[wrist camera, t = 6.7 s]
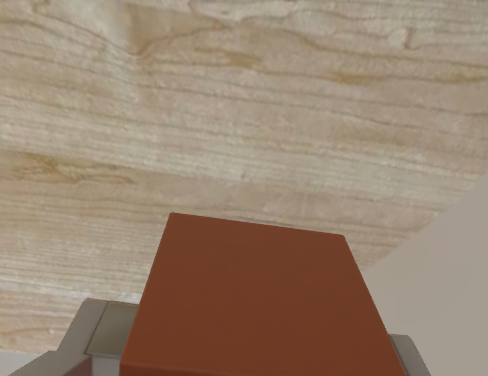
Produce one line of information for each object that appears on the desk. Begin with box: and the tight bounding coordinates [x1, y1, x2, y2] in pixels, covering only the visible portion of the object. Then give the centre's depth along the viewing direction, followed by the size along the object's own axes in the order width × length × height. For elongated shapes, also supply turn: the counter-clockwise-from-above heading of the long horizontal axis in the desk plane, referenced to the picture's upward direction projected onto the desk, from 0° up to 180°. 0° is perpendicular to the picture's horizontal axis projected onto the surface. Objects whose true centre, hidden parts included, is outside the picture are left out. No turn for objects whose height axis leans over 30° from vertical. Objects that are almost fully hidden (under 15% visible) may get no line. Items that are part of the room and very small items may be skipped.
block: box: [119, 212, 407, 376], centre depth 9 cm, size 4×4×5 cm
